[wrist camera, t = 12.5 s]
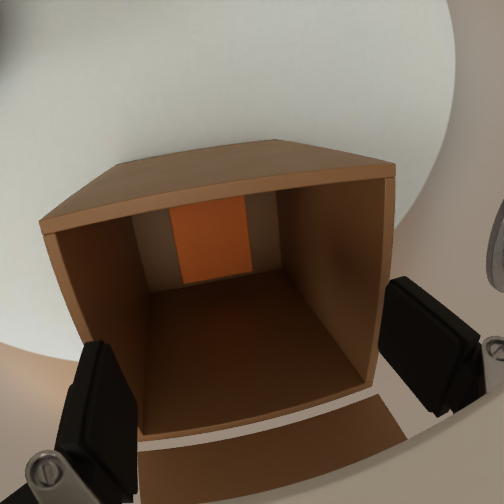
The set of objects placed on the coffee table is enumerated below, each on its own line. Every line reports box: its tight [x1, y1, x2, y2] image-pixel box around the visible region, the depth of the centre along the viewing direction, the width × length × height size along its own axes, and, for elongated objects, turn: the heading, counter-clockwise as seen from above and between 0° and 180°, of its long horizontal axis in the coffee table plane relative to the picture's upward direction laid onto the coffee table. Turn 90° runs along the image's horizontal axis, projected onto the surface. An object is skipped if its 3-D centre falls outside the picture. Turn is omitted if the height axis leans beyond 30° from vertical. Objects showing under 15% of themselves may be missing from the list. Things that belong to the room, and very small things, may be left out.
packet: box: [168, 196, 253, 284], centre depth 22 cm, size 8×5×3 cm, turn 6°
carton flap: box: [137, 394, 408, 504], centre depth 11 cm, size 12×5×1 cm
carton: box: [39, 139, 396, 442], centre depth 18 cm, size 12×11×14 cm
